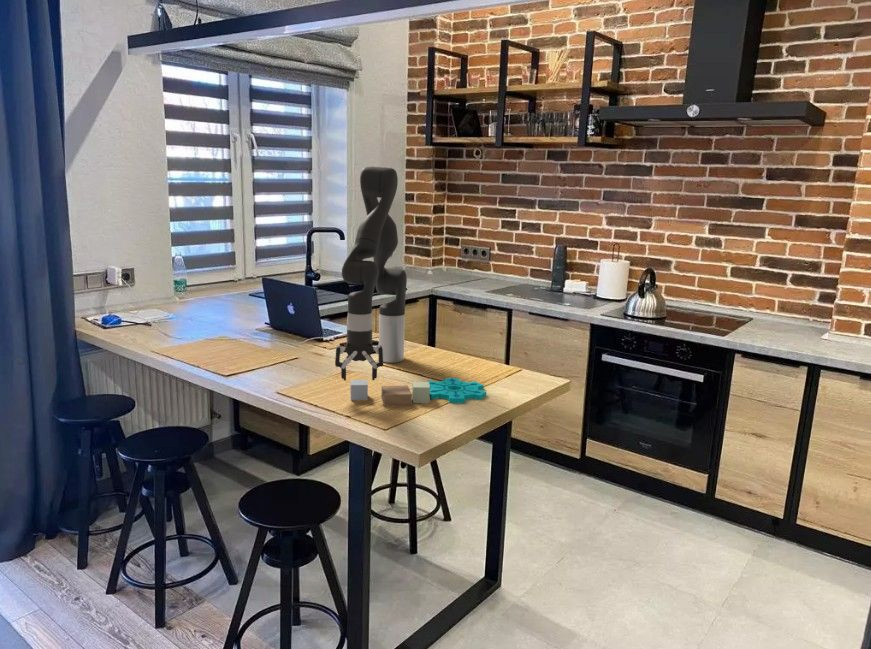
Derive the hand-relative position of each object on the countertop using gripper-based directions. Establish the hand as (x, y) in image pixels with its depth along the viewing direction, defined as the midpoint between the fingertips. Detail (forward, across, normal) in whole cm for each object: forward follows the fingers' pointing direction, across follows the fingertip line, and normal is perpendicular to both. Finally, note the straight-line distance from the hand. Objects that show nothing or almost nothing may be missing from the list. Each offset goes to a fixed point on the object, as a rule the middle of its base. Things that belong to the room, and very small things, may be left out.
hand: (358, 379), depth 197 cm
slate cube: (+6, 0, 0) cm, 6 cm away
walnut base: (+6, -11, +4) cm, 13 cm away
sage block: (+3, -21, +3) cm, 22 cm away
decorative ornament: (+6, -30, -4) cm, 31 cm away
